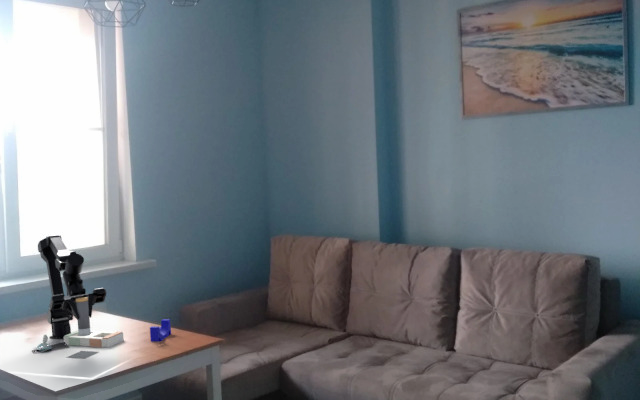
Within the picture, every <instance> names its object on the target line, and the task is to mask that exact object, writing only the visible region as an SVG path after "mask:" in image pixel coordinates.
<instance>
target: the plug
mask: <svg viewBox="0 0 640 400" xmlns="http://www.w3.org/2000/svg"><path fill="white" fill-rule="evenodd" d="M76 307H77V312H78V316H79V320H77V331H78V333H79V336H88V335H90V334H91V332H90V331H91V323H90V322H91V321H90V319H91V318H90V317H89V306H88V297H81V298H77V299H76Z"/></svg>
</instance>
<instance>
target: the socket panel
mask: <svg viewBox="0 0 640 400" xmlns="http://www.w3.org/2000/svg"><path fill="white" fill-rule="evenodd" d="M90 332H91V334H90V335H88V336H79V333H78V330H75V331H73V332H71V333H70V334H67V335H65V336H64V338H63V343H64V342H65V343H66V344H67V345H68V346H78V347H79V346H86V347H95V348H97V347H98V348H101V347H102V348H109V347H110V348H111V346H114V345H116V344H119V343H121V342H123V341H124V338H125V337H124V332H123V331H101V330H90ZM66 344H65V345H66ZM67 345H66V346H67Z"/></svg>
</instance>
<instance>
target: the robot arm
mask: <svg viewBox="0 0 640 400" xmlns="http://www.w3.org/2000/svg"><path fill="white" fill-rule="evenodd" d="M37 251H38V253H39V255H40V258H41V259H42V260H43V261H44V262H45V263H46V269H47V274H48V276H47V277H48V282H49V288H50V293H51V297H50V301H49V305H48V307H49V308H48V310H47V316H46V319H47V322H48V323H49V324H50V325H51V335H49V339H60V340H61V339H62V340H64V336H65V335H67V334H70V333H72V329H71V328H72V327H71V323H70V321H73V320H74V318H75V319H76V320H77V321H78V320H79V316H78V312H77V307H76V299H77V298H81V297H88V306H89V319H91V318H92V315H93V306H94V305H95V304H99V303H103V302H105V300H106V297H107V289H106V288H105V287H99V288H93V290H92V293H86V292H87V290H86V288H85V287H84V284H83V283H84V280H83V279H82V278H81V273H82V270H83V266H84V262H85V259H84V257H83V255H81V254H79V253H77V251H76V250H75V251H72V250H69V249H68V248H67V246H66V245H65V243H64V241H63V240H62V236H61V235H60V234H50V235H49V234H48V236H46V237H45V238H43V239H41V240H39V242H37ZM61 272H62V275H61ZM62 278H63V281H62ZM63 282H64V285H65V288H66V295H65V293H64V287H63Z"/></svg>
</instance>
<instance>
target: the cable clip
mask: <svg viewBox="0 0 640 400" xmlns="http://www.w3.org/2000/svg"><path fill="white" fill-rule="evenodd" d="M149 335H150V342H162V341H163V340H165V339H166V338H167V337H169V336H171V335H172V327H171V319H169V318H167V319H166V318H165V319H164V318H163V319H161V322H160V326H158V325H157V326H156V325H155V326H153V325H152V326H150V327H149Z"/></svg>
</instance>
